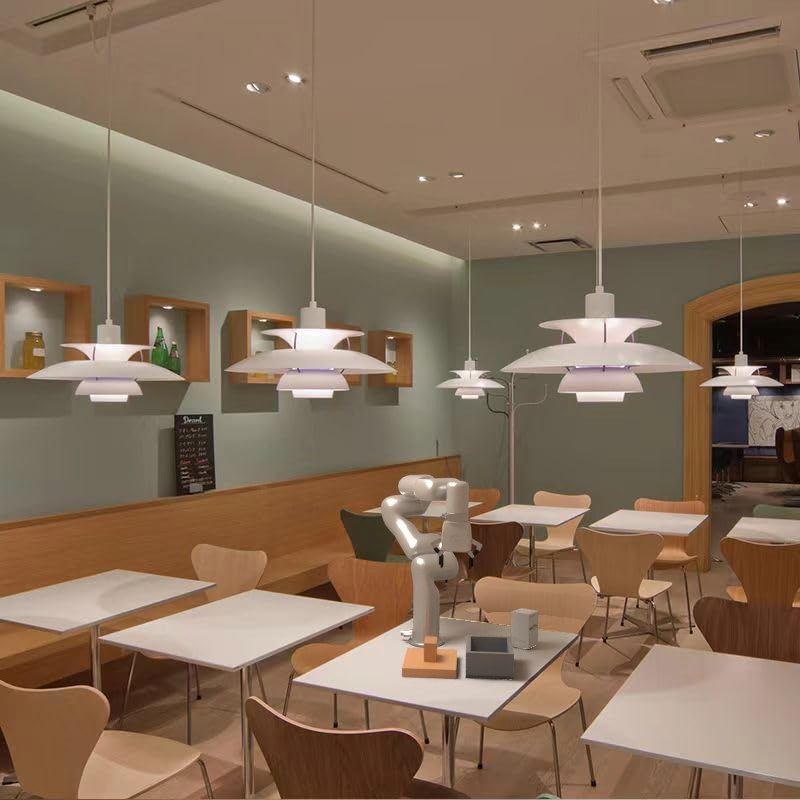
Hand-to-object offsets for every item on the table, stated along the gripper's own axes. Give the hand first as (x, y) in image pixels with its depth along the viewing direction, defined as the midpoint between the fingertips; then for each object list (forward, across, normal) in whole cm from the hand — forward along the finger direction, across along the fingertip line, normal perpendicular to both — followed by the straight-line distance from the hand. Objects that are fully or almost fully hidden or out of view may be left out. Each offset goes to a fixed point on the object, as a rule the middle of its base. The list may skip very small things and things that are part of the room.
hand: (456, 567), depth 280 cm
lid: (+30, -6, -12) cm, 33 cm away
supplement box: (+31, +23, +18) cm, 42 cm away
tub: (+30, +12, -10) cm, 34 cm away
